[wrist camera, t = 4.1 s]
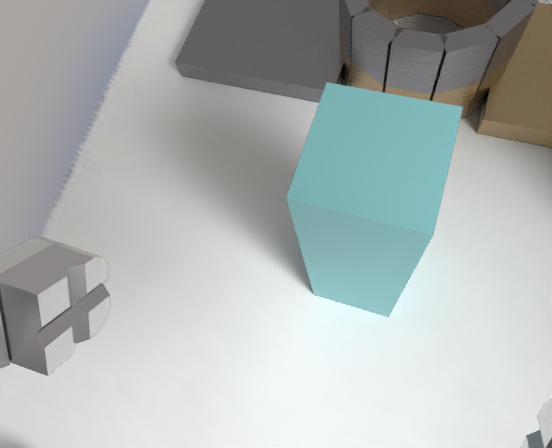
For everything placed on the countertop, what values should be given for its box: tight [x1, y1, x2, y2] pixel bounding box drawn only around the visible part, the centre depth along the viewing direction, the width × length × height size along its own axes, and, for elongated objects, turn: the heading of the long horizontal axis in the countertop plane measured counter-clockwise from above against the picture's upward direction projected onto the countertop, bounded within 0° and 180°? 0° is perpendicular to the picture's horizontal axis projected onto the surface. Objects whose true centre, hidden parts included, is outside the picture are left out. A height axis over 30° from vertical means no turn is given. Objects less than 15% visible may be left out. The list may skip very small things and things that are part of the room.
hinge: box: [175, 0, 552, 147], centre depth 29 cm, size 34×11×7 cm, turn 72°
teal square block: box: [286, 82, 463, 317], centre depth 21 cm, size 4×4×14 cm
